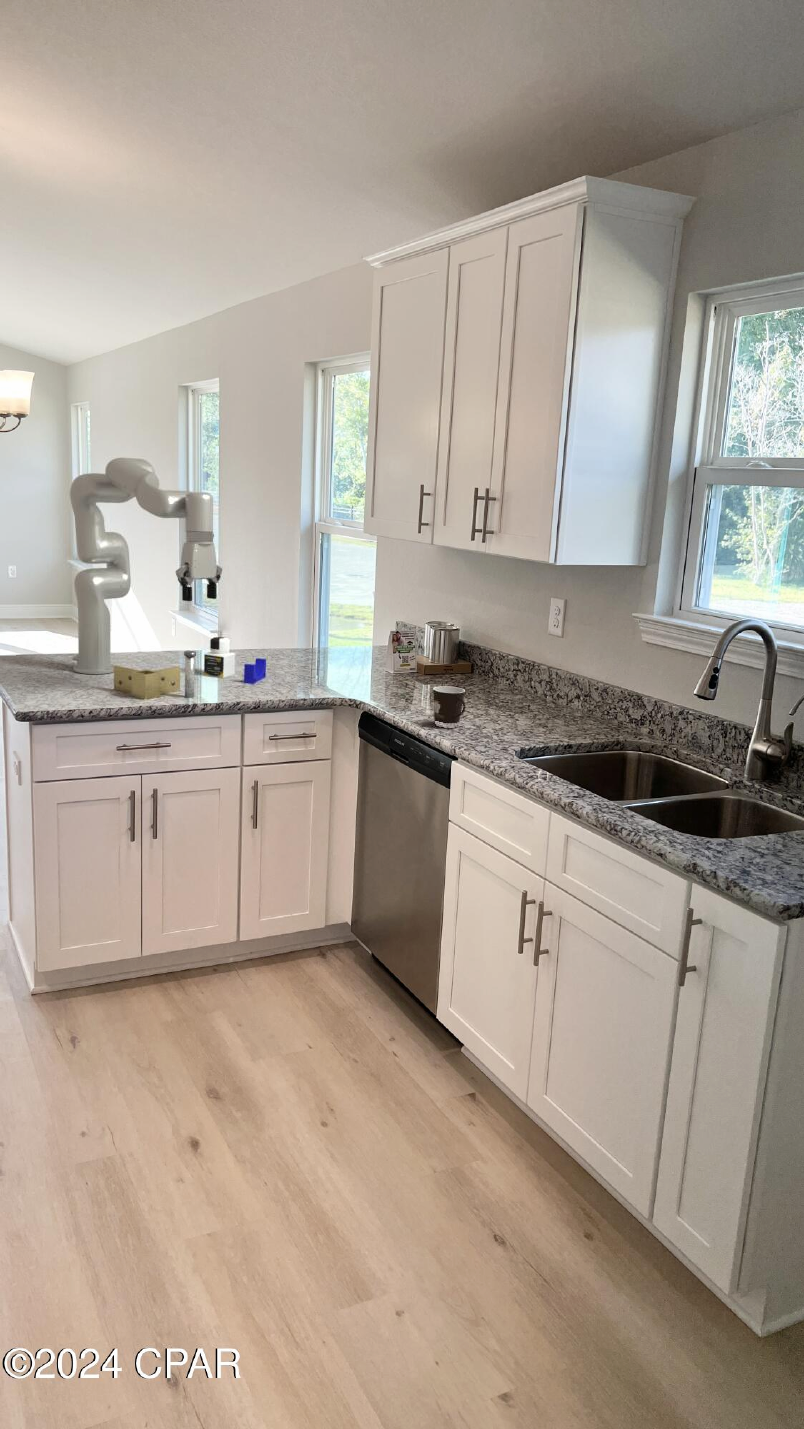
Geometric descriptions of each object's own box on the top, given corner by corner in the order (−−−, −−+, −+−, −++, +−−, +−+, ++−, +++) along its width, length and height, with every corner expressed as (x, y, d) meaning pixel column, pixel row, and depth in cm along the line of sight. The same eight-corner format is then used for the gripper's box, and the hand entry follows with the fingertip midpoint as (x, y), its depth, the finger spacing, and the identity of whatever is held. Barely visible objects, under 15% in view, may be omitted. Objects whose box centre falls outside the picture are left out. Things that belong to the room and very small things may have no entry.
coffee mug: (428, 721, 284) (431, 685, 282) (460, 722, 285) (462, 687, 283) (433, 731, 273) (436, 694, 271) (466, 733, 274) (468, 696, 272)
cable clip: (252, 676, 330) (252, 657, 329) (265, 677, 329) (266, 659, 328) (239, 683, 319) (239, 664, 317) (253, 684, 318) (253, 665, 316)
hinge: (107, 690, 297) (107, 666, 295) (148, 683, 309) (148, 660, 308) (145, 699, 288) (145, 675, 287) (186, 692, 301) (186, 668, 299)
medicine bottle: (203, 675, 325) (204, 637, 323) (215, 672, 332) (216, 635, 329) (223, 678, 323) (223, 640, 320) (235, 675, 329) (236, 637, 327)
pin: (180, 696, 295) (181, 651, 292) (189, 695, 297) (190, 650, 295) (189, 698, 293) (190, 653, 290) (198, 697, 296) (198, 652, 293)
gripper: (211, 536, 296) (211, 596, 300) (166, 537, 282) (167, 600, 285) (230, 538, 292) (230, 598, 296) (186, 539, 278) (187, 603, 282)
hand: (199, 599), depth 291 cm, fingers open, 9 cm apart
